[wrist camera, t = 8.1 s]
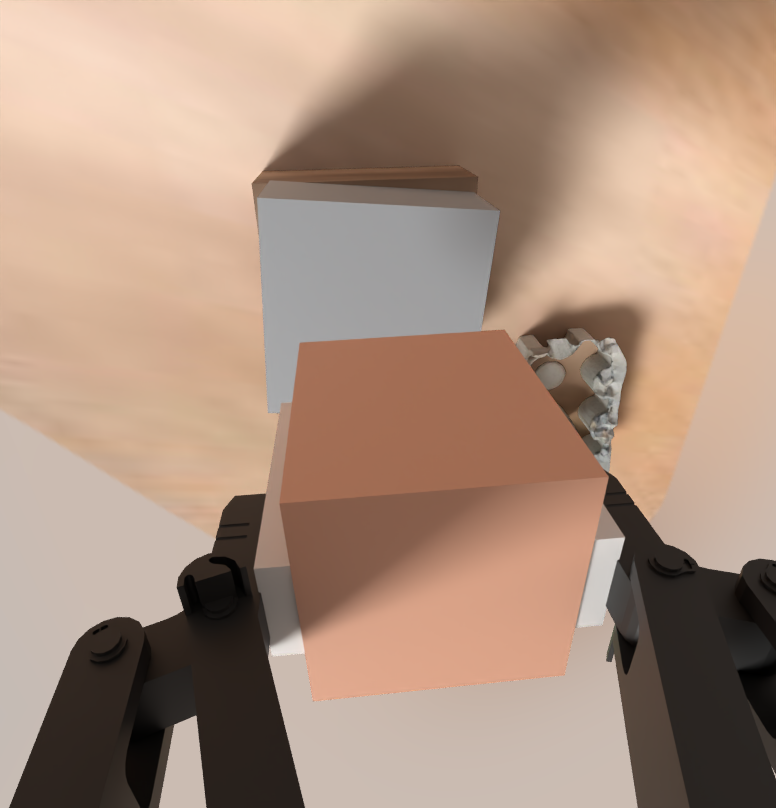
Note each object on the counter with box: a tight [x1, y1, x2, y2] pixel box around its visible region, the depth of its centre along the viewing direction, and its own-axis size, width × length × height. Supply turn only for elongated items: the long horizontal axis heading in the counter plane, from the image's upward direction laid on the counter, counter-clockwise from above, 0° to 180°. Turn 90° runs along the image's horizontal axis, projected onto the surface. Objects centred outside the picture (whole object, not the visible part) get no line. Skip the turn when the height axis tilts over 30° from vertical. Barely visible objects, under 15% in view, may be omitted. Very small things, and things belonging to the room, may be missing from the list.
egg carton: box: [516, 328, 627, 472], centre depth 37 cm, size 11×8×4 cm
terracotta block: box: [279, 330, 609, 701], centre depth 14 cm, size 6×6×7 cm
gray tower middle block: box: [257, 180, 500, 413], centre depth 27 cm, size 10×10×5 cm
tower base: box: [252, 166, 478, 234], centre depth 31 cm, size 11×11×5 cm
